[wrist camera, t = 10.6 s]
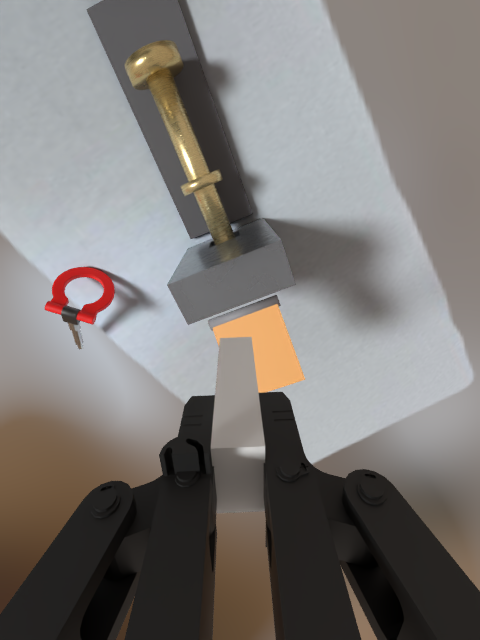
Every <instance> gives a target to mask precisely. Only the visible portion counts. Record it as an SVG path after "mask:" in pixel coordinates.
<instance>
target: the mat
mask: <svg viewBox="0 0 480 640" xmlns="http://www.w3.org/2000/svg"><path fill="white" fill-rule="evenodd" d="M87 12H88V14H89V16H90V18H91V20H92V23H93V25H94V27H95V29H96V31H97V34H98V36H99V38H100V40H101V42H102V45H103V47H104V49H105V51H106V54H107V56H108V58H109V60H110V62H111V65H112V67H113V69H114V71H115V73H116V76H117V78H118V80H119V82H120V84H121V87H122V89H123V91H124V93H125V95H126V98H127V100H128V102H129V104H130V106H131V109H132V111H133V113H134V115H135V117H136V120H137V122H138V124H139V126H140V128H141V131H142V133H143V135H144V137H145V139H146V142H147V144H148V146H149V148H150V150H151V153H152V155H153V157H154V159H155V161H156V164H157V166H158V168H159V170H160V172H161V175H162V177H163V179H164V181H165V183H166V186H167V188H168V190H169V192H170V194H171V197H172V199H173V201H174V203H175V205H176V208H177V210H178V212H179V214H180V216H181V219H182V221H183V223H184V225H185V227H186V230H187V232H188V234H189V236H190V238H191V239H193V238H195V237H198V236H200V235H203V234H205V233H207V232H210V231H209V229H208V226H207V224H206V222H205V219H204V217H203V214H202V212H201V210H200V207H199V205H198V203H197V200H196V198H195V196H194V193H191V194H188V195H186V196H184V194H183V192H182V189H181V187H180V186H182V185H184V184H186V183H188V182H189V181H188V179H187V177H186V174H185V172H184V169H183V167H182V165H181V162H180V160H179V158H178V155H177V153H176V151H175V148H174V146H173V143H172V141H171V139H170V136H169V134H168V132H167V129H166V127H165V124H164V122H163V120H162V117H161V115H160V113H159V110H158V108H157V106H156V103H155V101H154V98H153V96H152V94H151V91H150V89H147V90H137V89H135V88H134V87H133V85H132V83H131V81H130V79H129V76H128V74H127V72H126V70H125V63H126V61H127V59H128V58H129V57H130V56H131V55H132V54H133V53H134V52H135V51H137V50H138V49H140V48H142V47H143V46H146V45H148V44H150V43H153V42H156V41H161V40H170V41H173V42H175V43H176V45H177V48H178V51H179V53H180V56H181V59H182V62H183V69H182V70H181V72H180V73H179V74H178V75H177V76H175V77H174V81H175V84H176V86H177V89H178V91H179V94H180V96H181V99H182V102H183V104H184V107H185V109H186V112H187V115H188V117H189V120H190V122H191V125H192V127H193V130H194V133H195V135H196V138H197V140H198V143H199V145H200V148H201V151H202V153H203V156H204V158H205V161H206V163H207V166H208V169H209V171H210V173H211V172H213V171H216V170H220V173H221V175H222V178H223V180H221V181H218V182H216V183H214V184H215V187H216V189H217V192H218V194H219V197H220V199H221V202H222V205H223V207H224V210H225V212H226V215H227V217H228V220H229V223H232V222H234V221H236V220H239V219H241V218H244V217H246V216H249V215H251V214H253V213H252V210H251V207H250V204H249V202H248V199H247V196H246V193H245V190H244V187H243V184H242V182H241V179H240V176H239V173H238V170H237V167H236V164H235V162H234V159H233V156H232V153H231V150H230V147H229V145H228V142H227V139H226V136H225V133H224V130H223V127H222V125H221V122H220V119H219V116H218V113H217V110H216V108H215V105H214V102H213V99H212V96H211V93H210V90H209V88H208V85H207V82H206V79H205V76H204V73H203V70H202V68H201V65H200V62H199V59H198V56H197V53H196V51H195V48H194V45H193V42H192V39H191V36H190V33H189V31H188V28H187V25H186V22H185V19H184V16H183V13H182V11H181V8H180V5H179V2H178V0H103V1H101V2H99V3H98V4H96V5H94V6H92V7H90V8H88V9H87Z"/></svg>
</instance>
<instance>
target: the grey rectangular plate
mask: <svg viewBox="0 0 480 640" xmlns="http://www.w3.org/2000/svg"><path fill="white" fill-rule="evenodd" d="M233 233H234V235H235V238H233V239H230V240H228V241H225V242H223V243H220V244H218V245H215V243H214V241H213V239H210V240H208V241H205V242H203V243H200V244H198V245H196V246H193V247H191V248H188V249H187V251H186V253H185V254H184V256H183V258H182V260H181V261H180V263H179V265H178V267H177V268H176V270H175V272H174V274H173V275H172V277H171V279H170V281H169V282H168V284H167V286H168V288H169V289H170V291H171V293H172V295H173V297H174V299H175V301H176V303H177V305H178V307H179V309H180V310H181V312H182V314H183V316H184V318H185V320H186V322H187V324H188V325H189V324H192V323H194V322H197V321H200V320H202V319H205V318H208V317H210V316H213V315H216V314H218V313H221V312H224V311H226V310H229V309H232V308H234V307H237V306H240V305H242V304H245V303H248V302H251V301H253V300H256V299H259V298H261V297H264V296H267V295H269V294H272V293H275V292H277V291H280V290H283V289H285V288H288V287H291V286H293V285H296V283H295V280H294V277H293V274H292V271H291V268H290V265H289V262H288V259H287V256H286V252H285V249H284V246H283V243H282V240H281V239H280V237H279V236H278V235H277V234H276V233H275V232H274V230H273V229H272V228H271V227H270V226H269V225H268V223H267V222H266V221H265V220H264V219H263V218H262V219H259V220H257V221H254V222H252V223H249V224H247V225H244V226H242V227H240V228H237V229H235V230H233Z"/></svg>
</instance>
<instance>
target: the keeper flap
mask: <svg viewBox="0 0 480 640" xmlns="http://www.w3.org/2000/svg"><path fill="white" fill-rule="evenodd" d="M278 306H281V305H280V303H279V300H278V297H277V295H275V296H272V297H269V298H267V299H264V300H261V301H258V302H256V303H253V304H250V305H248V306H245V307H242V308H240V309H237V310H234V311H232V312H229V313H226V314H224V315H221V316H218V317H215V318H213V319H210V320H208V324H209V327H210V329H211V330H212V331H214V334H215V337H216V340H217V343H218V345H219V343H220V338H235V337H252V345H253V353H254V361H255V369H256V377H257V385H258V393H265V392H268V391H272V390H275V389H278V388H281V387H284V386H287V385H290V384H293V383H296V382H299V381H302V380H305V378H304V375H303V372H302V369H301V367H300V364H299V361H298V358H297V356H296V353H295V350H294V348H293V345H292V342H291V339H290V337H289V334H288V331H287V329H286V326H285V323H284V320H283V318H282V315H281V312H280V309H279V307H278Z"/></svg>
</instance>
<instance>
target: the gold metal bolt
mask: <svg viewBox="0 0 480 640" xmlns="http://www.w3.org/2000/svg"><path fill="white" fill-rule="evenodd" d="M182 69H183V62H182V59H181V56H180V53H179V51H178V48H177V45H176V43H175V42H173V41H170V40H161V41H156V42H153V43H150V44H148V45H146V46H143V47H142V48H140V49H138V50H137V51H135V52H134V53H133V54H132V55H131V56H130V57H129V58H128V59H127V61H126V63H125V70H126V72H127V74H128V76H129V79H130V81H131V83H132V85H133V87H134V88H135V89H137V90H147V89H150V91H151V94H152V96H153V98H154V101H155V103H156V106H157V108H158V110H159V113H160V115H161V117H162V120H163V122H164V124H165V127H166V129H167V132H168V134H169V136H170V139H171V141H172V143H173V146H174V148H175V151H176V153H177V155H178V158H179V160H180V162H181V165H182V167H183V169H184V172H185V174H186V177H187V179H188V181H189V182H188V183H186V184H184V185H182V186H180V187H181V189H182V192H183V194H184V196H186V195H188V194H191V193H194V196H195V198H196V200H197V203H198V205H199V207H200V210H201V212H202V214H203V217H204V219H205V222H206V224H207V226H208V229H209V231H210V233H211V236H212V238H213V241H214V243H215V245H218V244H220V243H223V242H225V241H228V240H230V239H233V238H235V235H234V233H233V230H232V228H231V225H230V223H229V220H228V217H227V215H226V212H225V210H224V207H223V205H222V202H221V199H220V197H219V194H218V192H217V189H216V187H215V184H214V183H216V182H218V181H221V180H223V178H222V175H221V173H220V170H216V171H213V172H211V173H210V171H209V169H208V166H207V163H206V161H205V158H204V156H203V153H202V151H201V148H200V145H199V143H198V140H197V138H196V135H195V133H194V130H193V127H192V125H191V122H190V120H189V117H188V115H187V112H186V109H185V107H184V104H183V102H182V99H181V96H180V94H179V91H178V89H177V86H176V84H175V81H174V77H175V76H177V75H178V74H179V73H180V72H181V70H182Z"/></svg>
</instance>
